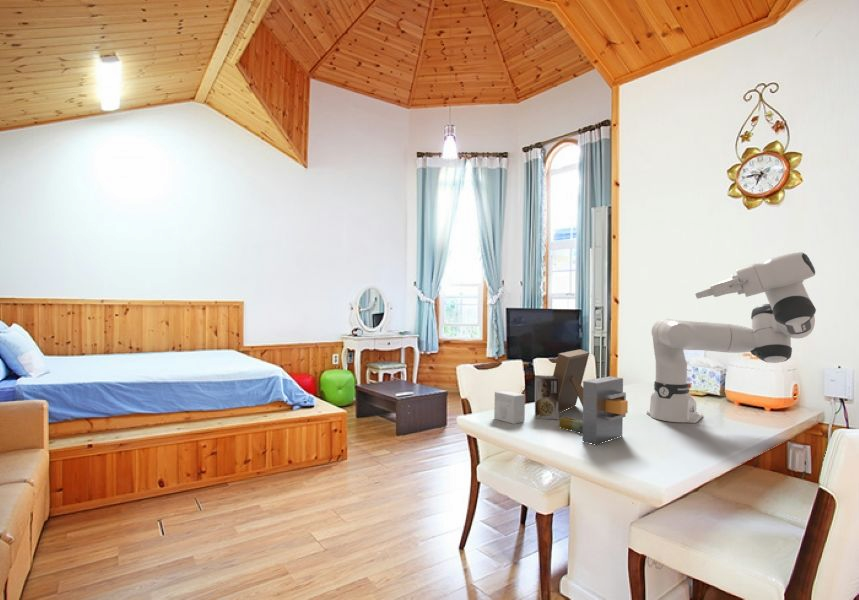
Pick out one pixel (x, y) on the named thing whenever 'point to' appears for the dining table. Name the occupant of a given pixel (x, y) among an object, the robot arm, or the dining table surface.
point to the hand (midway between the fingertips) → (697, 295)
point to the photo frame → (570, 377)
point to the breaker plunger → (616, 406)
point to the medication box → (571, 424)
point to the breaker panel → (601, 409)
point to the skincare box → (509, 407)
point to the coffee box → (546, 397)
